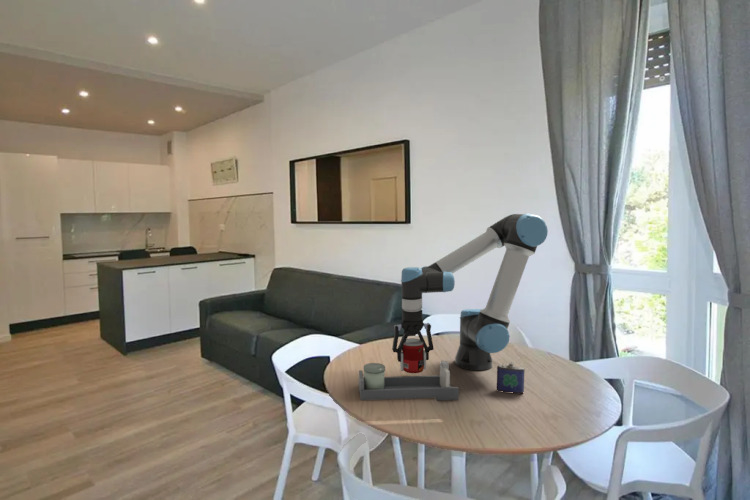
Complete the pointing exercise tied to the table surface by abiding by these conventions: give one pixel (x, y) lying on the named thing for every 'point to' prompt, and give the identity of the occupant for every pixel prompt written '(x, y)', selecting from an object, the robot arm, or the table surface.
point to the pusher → (444, 374)
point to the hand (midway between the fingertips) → (413, 369)
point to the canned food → (413, 356)
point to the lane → (409, 388)
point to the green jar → (374, 376)
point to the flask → (510, 378)
